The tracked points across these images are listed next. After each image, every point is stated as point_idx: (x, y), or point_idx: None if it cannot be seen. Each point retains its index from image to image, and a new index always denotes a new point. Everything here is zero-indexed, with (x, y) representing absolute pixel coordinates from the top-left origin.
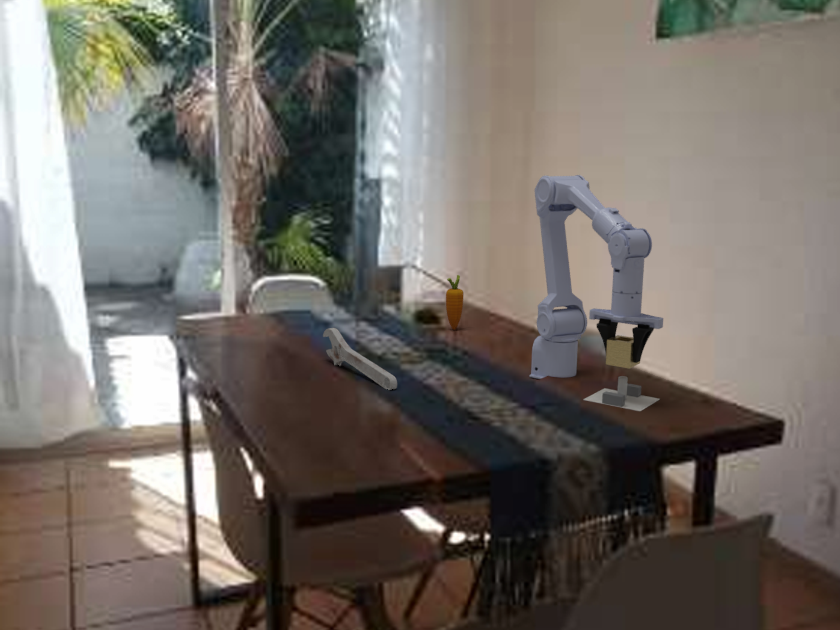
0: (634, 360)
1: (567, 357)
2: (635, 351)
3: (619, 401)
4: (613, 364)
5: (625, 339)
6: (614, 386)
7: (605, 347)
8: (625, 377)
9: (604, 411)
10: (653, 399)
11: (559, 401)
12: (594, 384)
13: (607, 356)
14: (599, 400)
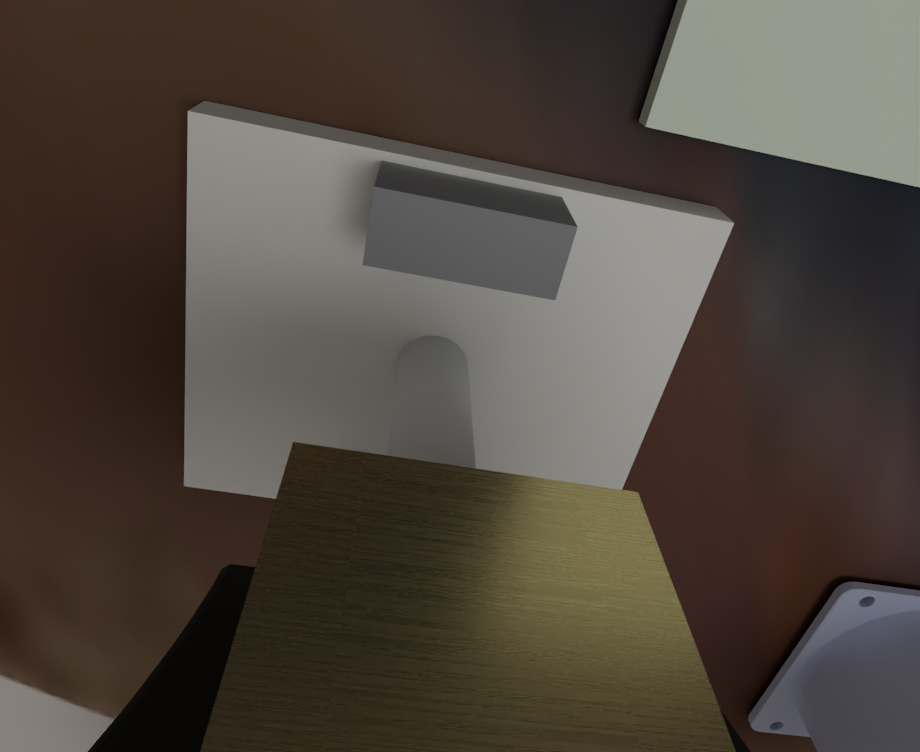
0: (241, 585)
1: None
2: (175, 702)
3: (397, 176)
4: (534, 489)
5: None
6: None
7: (733, 741)
8: None
9: (520, 127)
10: (219, 456)
11: (906, 228)
12: None
13: (650, 577)
14: (593, 261)
